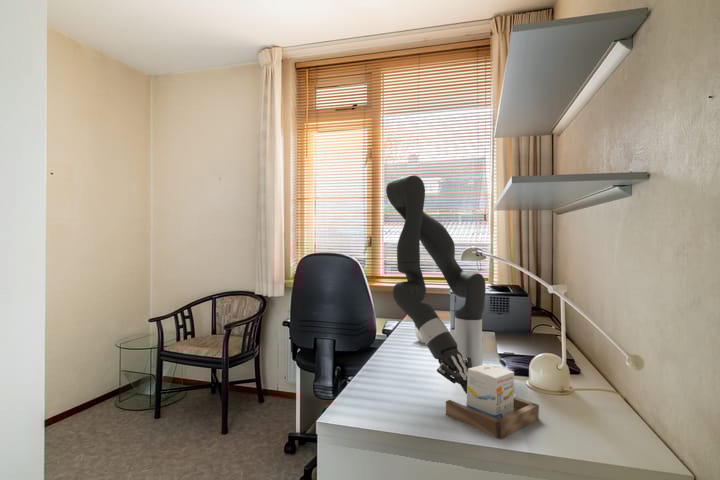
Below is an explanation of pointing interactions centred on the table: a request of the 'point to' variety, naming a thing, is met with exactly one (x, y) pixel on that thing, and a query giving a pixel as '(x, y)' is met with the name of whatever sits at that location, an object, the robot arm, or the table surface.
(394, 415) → the table surface
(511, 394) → the ink box
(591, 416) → the table surface
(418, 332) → the lidded jar
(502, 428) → the walnut corral
